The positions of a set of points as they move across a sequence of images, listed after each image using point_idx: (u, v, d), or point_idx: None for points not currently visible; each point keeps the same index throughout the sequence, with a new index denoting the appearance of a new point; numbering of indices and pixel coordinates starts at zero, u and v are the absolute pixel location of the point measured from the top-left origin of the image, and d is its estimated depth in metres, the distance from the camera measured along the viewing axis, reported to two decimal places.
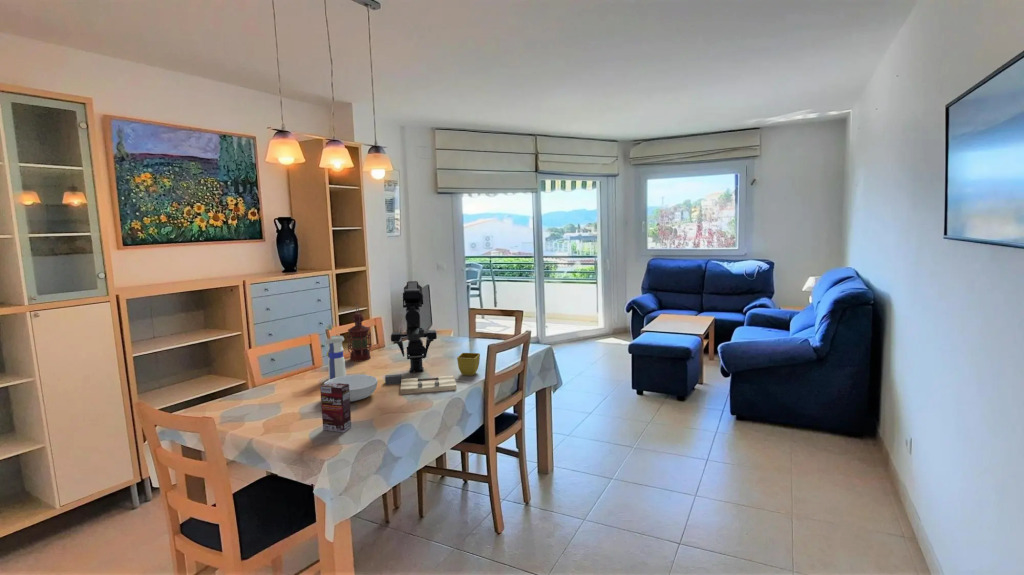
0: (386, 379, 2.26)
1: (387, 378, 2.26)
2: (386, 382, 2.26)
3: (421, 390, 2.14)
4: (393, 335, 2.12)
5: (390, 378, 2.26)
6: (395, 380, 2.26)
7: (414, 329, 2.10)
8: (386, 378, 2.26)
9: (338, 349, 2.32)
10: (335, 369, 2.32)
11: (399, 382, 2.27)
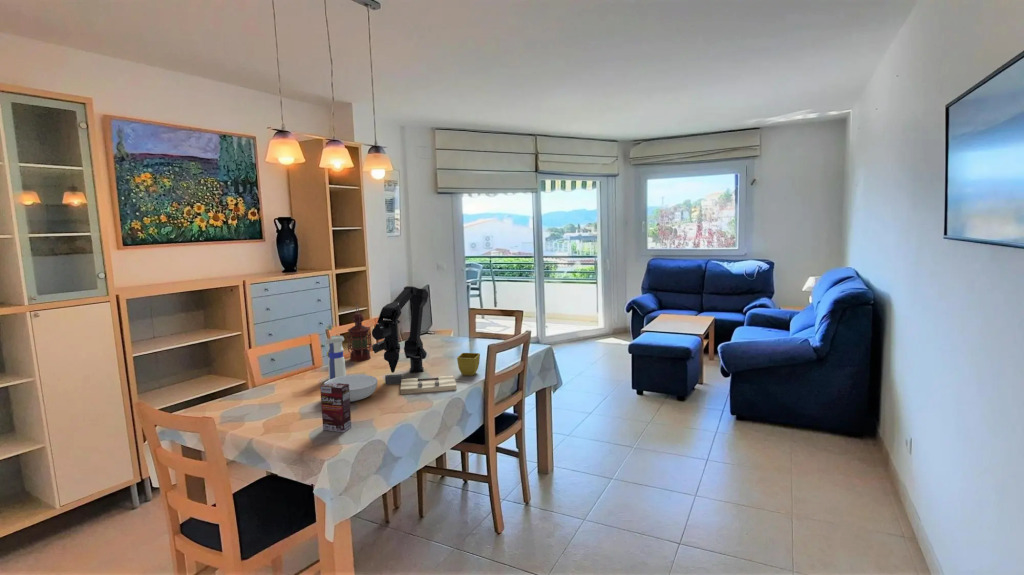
0: (386, 379, 2.26)
1: (387, 378, 2.26)
2: (386, 382, 2.26)
3: (421, 390, 2.14)
4: None
5: (390, 378, 2.26)
6: (395, 380, 2.26)
7: (379, 343, 2.24)
8: (386, 378, 2.26)
9: (338, 349, 2.32)
10: (335, 369, 2.32)
11: (399, 382, 2.27)
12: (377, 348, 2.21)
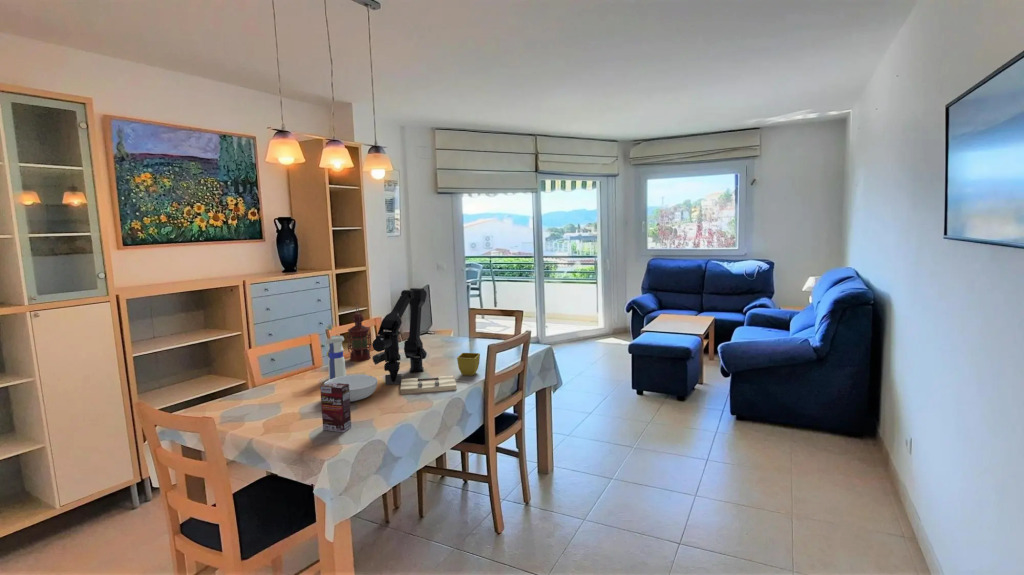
0: (386, 379, 2.26)
1: (387, 378, 2.26)
2: (386, 382, 2.26)
3: (421, 390, 2.14)
4: None
5: (390, 378, 2.26)
6: (395, 379, 2.26)
7: (380, 354, 2.25)
8: (386, 378, 2.26)
9: (338, 349, 2.32)
10: (335, 369, 2.32)
11: (399, 382, 2.27)
12: (377, 359, 2.21)
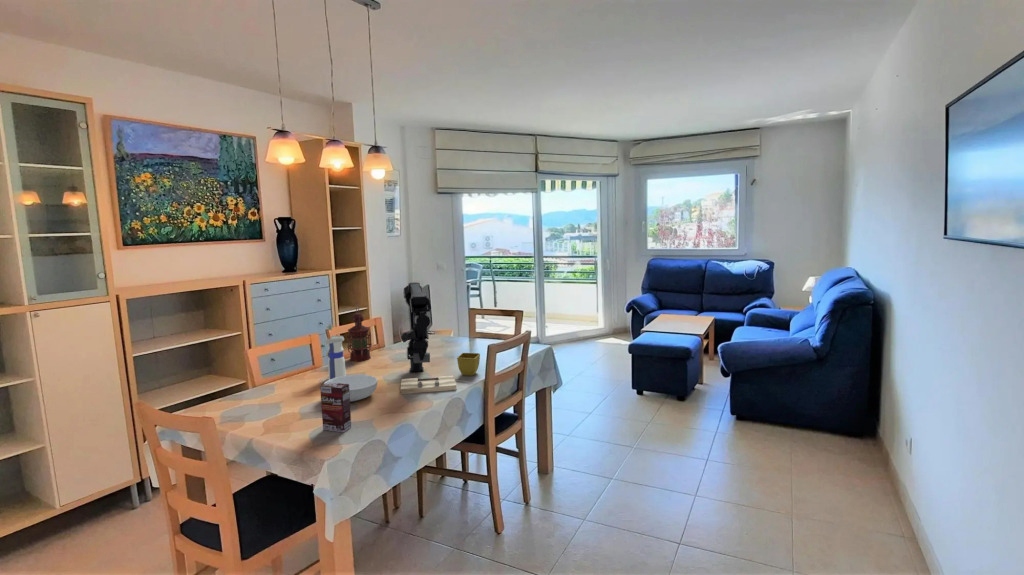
0: (414, 357, 2.22)
1: (415, 356, 2.22)
2: (414, 360, 2.22)
3: (421, 390, 2.14)
4: None
5: (418, 356, 2.22)
6: None
7: (408, 332, 2.21)
8: (414, 356, 2.22)
9: (338, 349, 2.32)
10: (335, 369, 2.32)
11: (427, 360, 2.23)
12: (406, 337, 2.17)
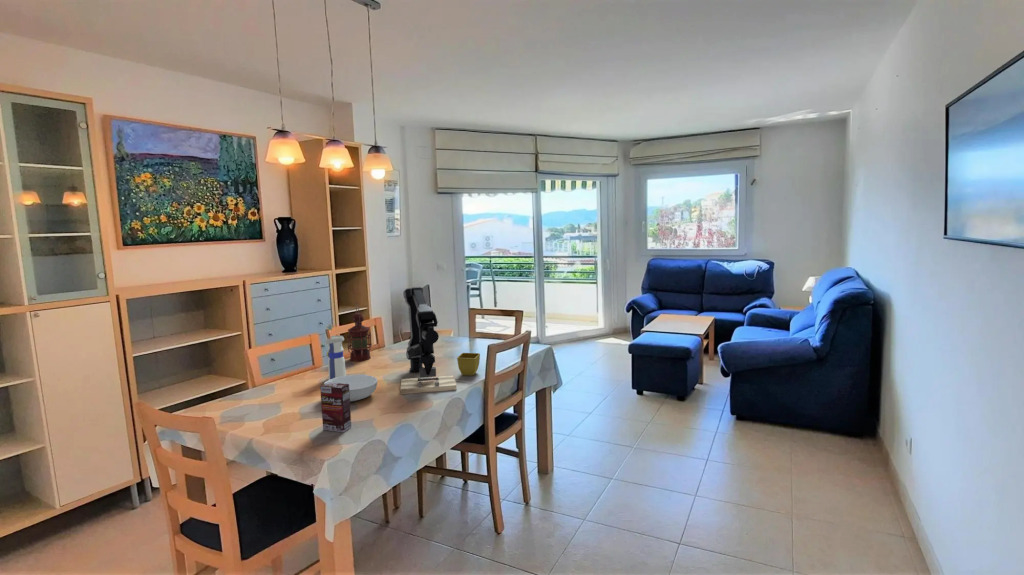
0: (420, 372, 2.22)
1: (421, 371, 2.22)
2: (420, 375, 2.23)
3: (421, 390, 2.14)
4: None
5: (424, 371, 2.23)
6: None
7: (414, 347, 2.21)
8: (420, 371, 2.22)
9: (338, 349, 2.32)
10: (335, 369, 2.32)
11: (433, 375, 2.24)
12: (412, 352, 2.18)
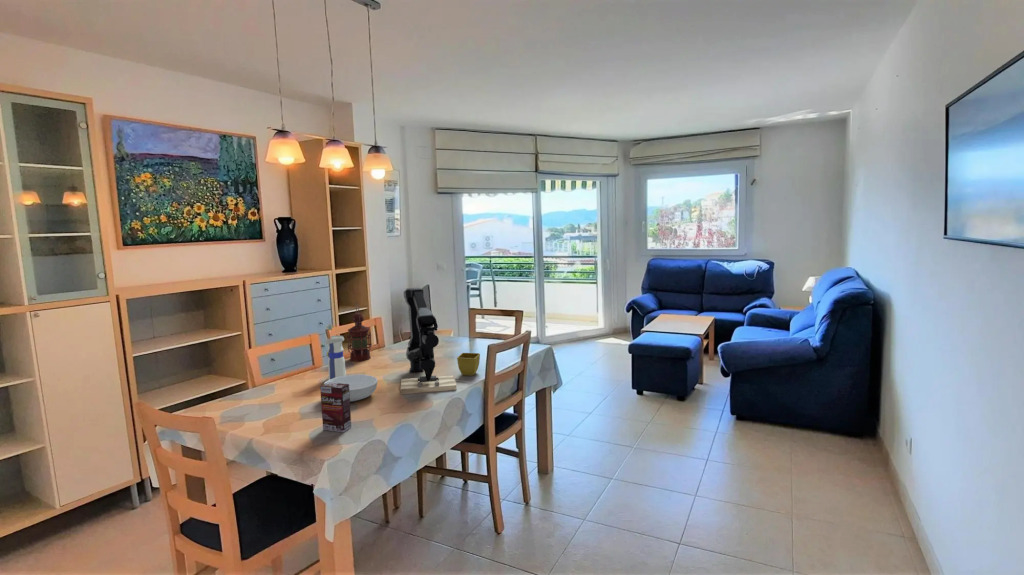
0: (421, 380, 2.23)
1: (422, 379, 2.23)
2: None
3: (421, 390, 2.14)
4: None
5: (425, 379, 2.23)
6: None
7: (414, 351, 2.22)
8: (421, 379, 2.23)
9: (338, 349, 2.32)
10: (335, 369, 2.32)
11: None
12: (413, 356, 2.18)
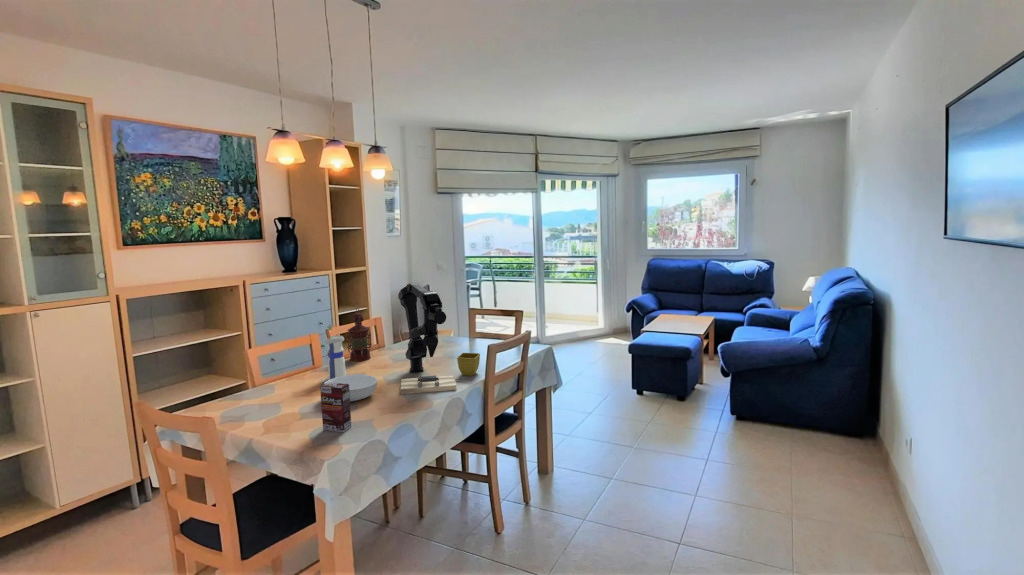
0: (421, 381, 2.23)
1: (422, 380, 2.23)
2: None
3: (421, 390, 2.14)
4: None
5: (425, 379, 2.23)
6: None
7: (418, 328, 2.27)
8: (421, 380, 2.23)
9: (338, 349, 2.32)
10: (335, 369, 2.32)
11: None
12: (416, 333, 2.24)
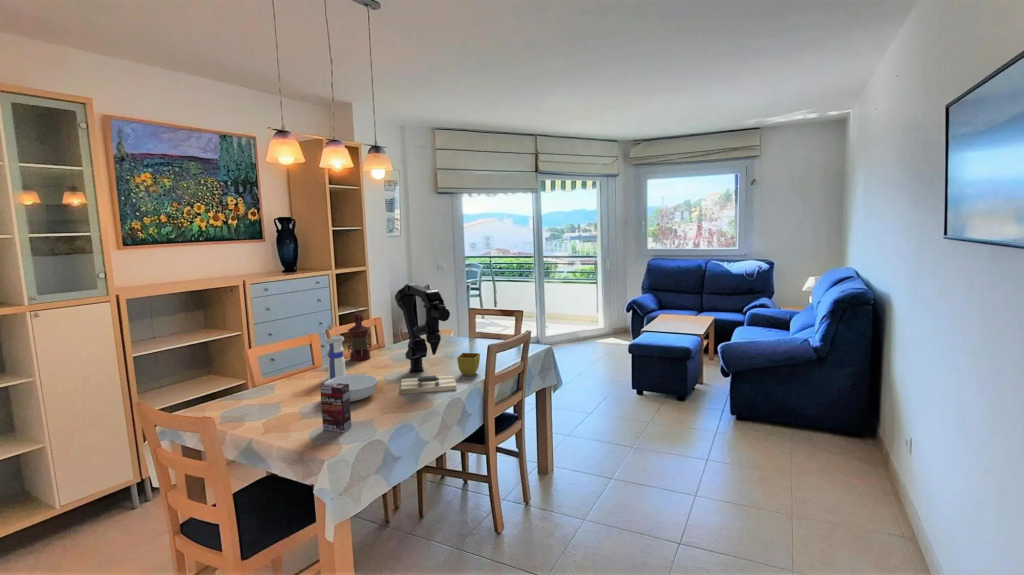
0: (421, 381, 2.23)
1: (422, 380, 2.23)
2: None
3: (421, 390, 2.14)
4: None
5: (425, 380, 2.23)
6: None
7: (420, 326, 2.30)
8: (421, 380, 2.23)
9: (338, 349, 2.32)
10: (335, 369, 2.32)
11: None
12: (419, 331, 2.26)
